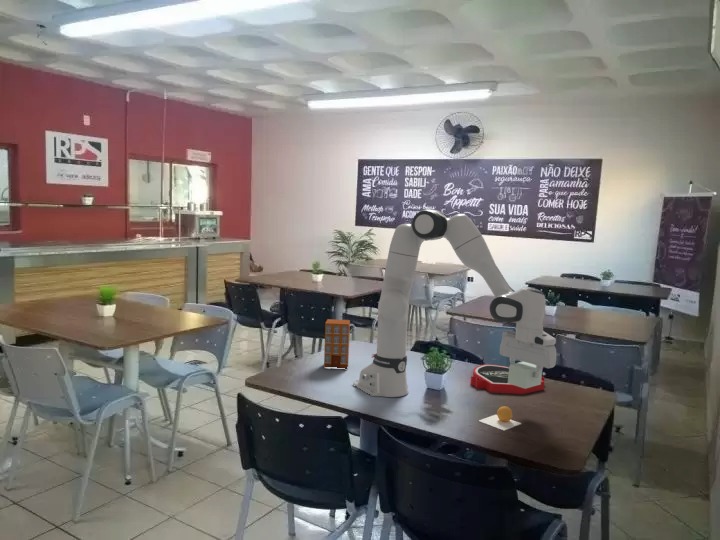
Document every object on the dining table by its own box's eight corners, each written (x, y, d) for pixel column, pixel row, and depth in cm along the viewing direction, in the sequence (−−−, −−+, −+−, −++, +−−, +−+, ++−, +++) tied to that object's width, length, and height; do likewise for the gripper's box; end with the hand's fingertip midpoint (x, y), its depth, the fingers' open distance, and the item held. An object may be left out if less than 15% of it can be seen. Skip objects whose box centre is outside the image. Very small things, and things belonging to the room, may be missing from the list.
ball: (499, 401, 188) (504, 410, 191) (492, 413, 186) (497, 422, 189) (512, 405, 185) (517, 414, 187) (505, 417, 183) (510, 426, 185)
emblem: (516, 363, 249) (557, 383, 221) (515, 371, 250) (556, 393, 221) (454, 365, 241) (487, 387, 213) (453, 374, 242) (487, 396, 213)
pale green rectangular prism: (507, 383, 193) (509, 364, 193) (523, 379, 200) (525, 361, 199) (525, 388, 188) (527, 369, 187) (540, 384, 195) (542, 365, 194)
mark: (478, 421, 186) (478, 420, 186) (495, 414, 193) (495, 414, 193) (503, 430, 179) (504, 430, 179) (521, 423, 185) (521, 423, 185)
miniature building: (323, 369, 238) (325, 323, 236) (325, 363, 248) (327, 319, 246) (346, 370, 238) (348, 324, 236) (348, 364, 247) (350, 320, 245)
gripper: (497, 329, 197) (494, 367, 199) (550, 342, 182) (546, 383, 184) (508, 327, 202) (504, 365, 203) (560, 340, 186) (556, 380, 188)
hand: (524, 374), depth 193 cm, fingers closed on pale green rectangular prism, 7 cm apart
